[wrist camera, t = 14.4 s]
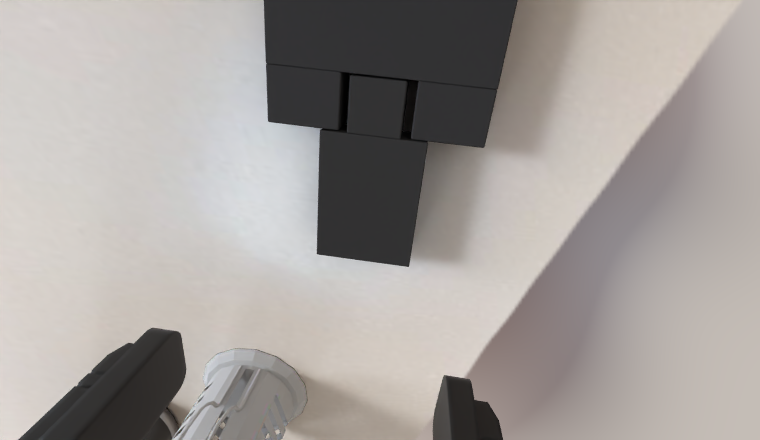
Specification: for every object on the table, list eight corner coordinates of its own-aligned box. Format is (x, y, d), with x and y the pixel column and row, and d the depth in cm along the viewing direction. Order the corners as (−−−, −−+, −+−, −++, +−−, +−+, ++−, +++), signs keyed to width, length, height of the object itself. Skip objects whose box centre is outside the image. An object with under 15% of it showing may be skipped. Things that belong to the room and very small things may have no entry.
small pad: (409, 248, 25) (408, 267, 23) (325, 236, 26) (316, 254, 23) (435, 81, 21) (436, 84, 18) (331, 69, 21) (321, 71, 19)
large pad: (477, 138, 22) (484, 148, 19) (283, 115, 22) (267, 122, 20) (522, -68, 17) (537, -86, 15) (279, -90, 18) (259, -111, 16)
